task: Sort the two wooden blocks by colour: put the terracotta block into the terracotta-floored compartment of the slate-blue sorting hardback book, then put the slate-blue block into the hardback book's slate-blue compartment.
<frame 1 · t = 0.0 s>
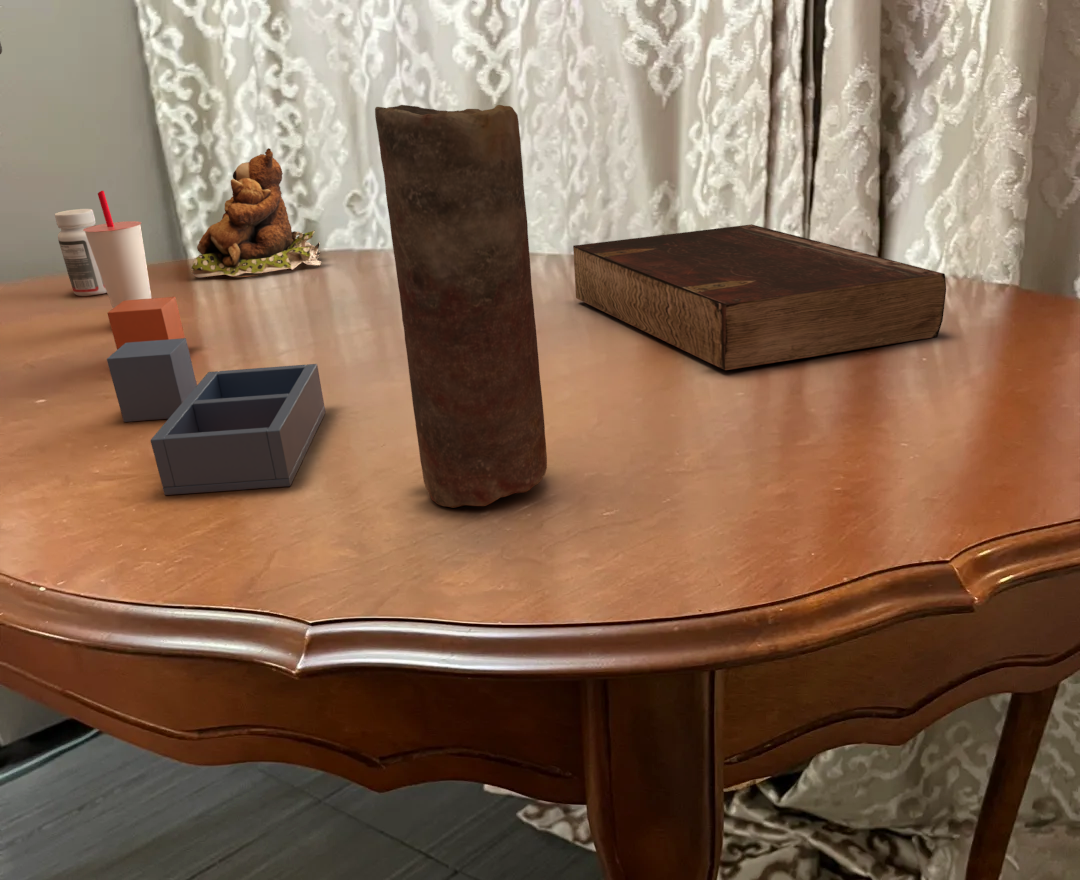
terracotta block: (155, 359, 98), on the table
blue block: (162, 410, 84), on the table
candle: (486, 490, 66), on the table
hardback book: (740, 320, 96), on the table
pill bottle: (96, 293, 126), on the table
bear figurine: (259, 268, 132), on the table
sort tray: (251, 450, 74), on the table
cup: (137, 325, 110), on the table
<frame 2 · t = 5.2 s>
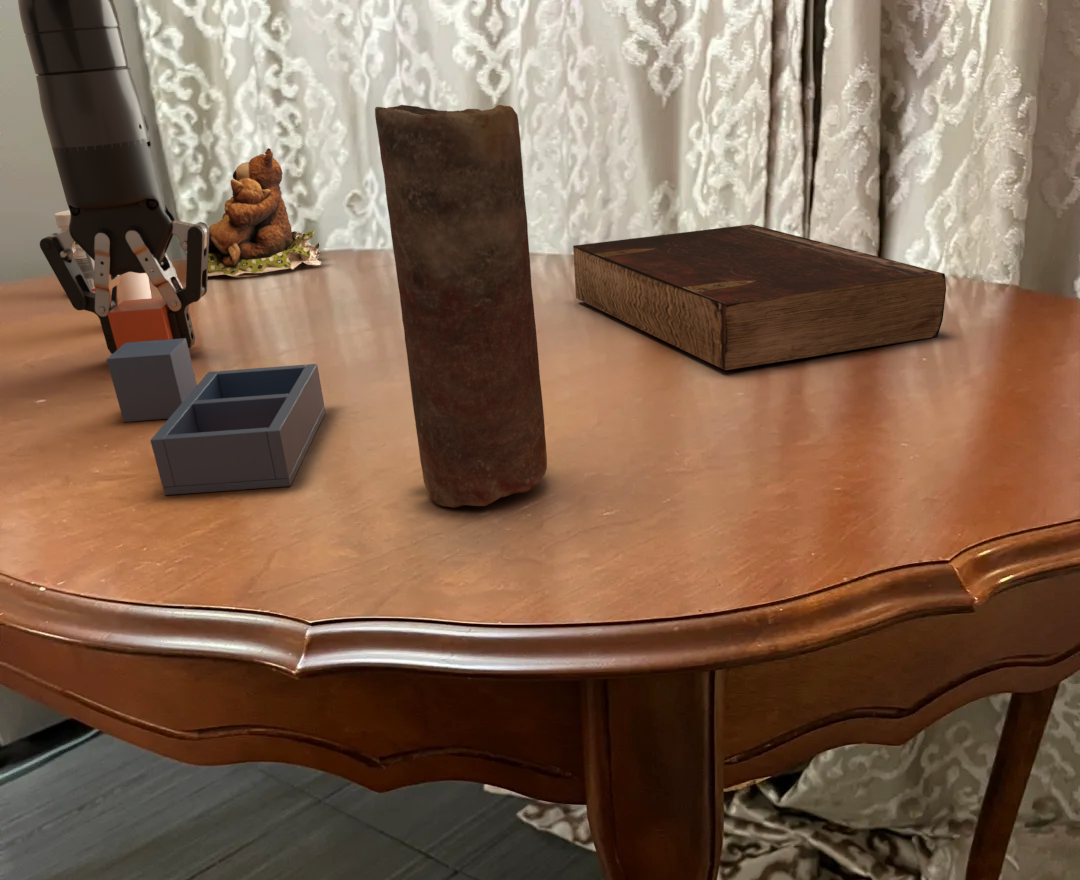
hand: (154, 354, 97), 0 cm above the table, tool pointing down, fingers closed on terracotta block, 4 cm apart
terracotta block: (155, 359, 98), on the table, touching gripper
everything else where it was.
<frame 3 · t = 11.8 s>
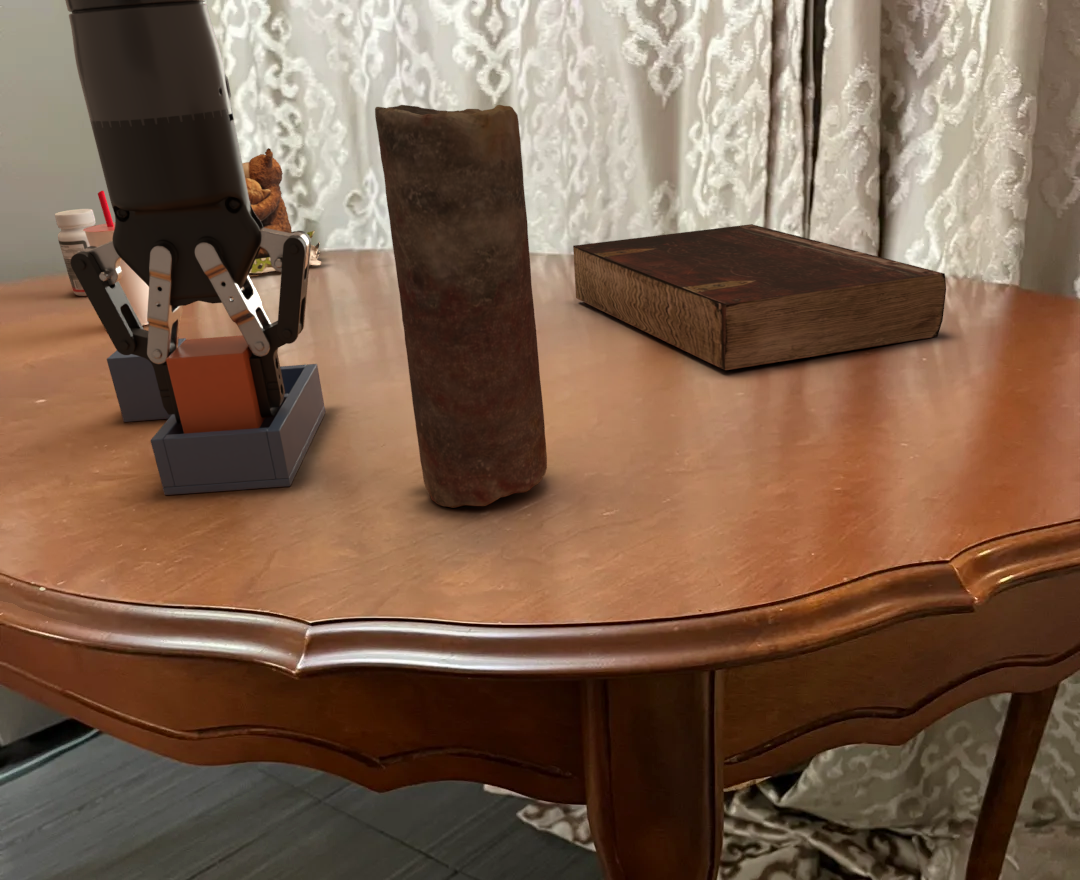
hand: (228, 415, 70), 3 cm above the table, tool pointing down, fingers closed on terracotta block, 4 cm apart
terracotta block: (229, 420, 70), point 3 cm above the table, touching gripper
everything else where it was.
when the fingers open (4 cm above the table, at t = 14.8 s): terracotta block drops 3 cm, resting on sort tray.
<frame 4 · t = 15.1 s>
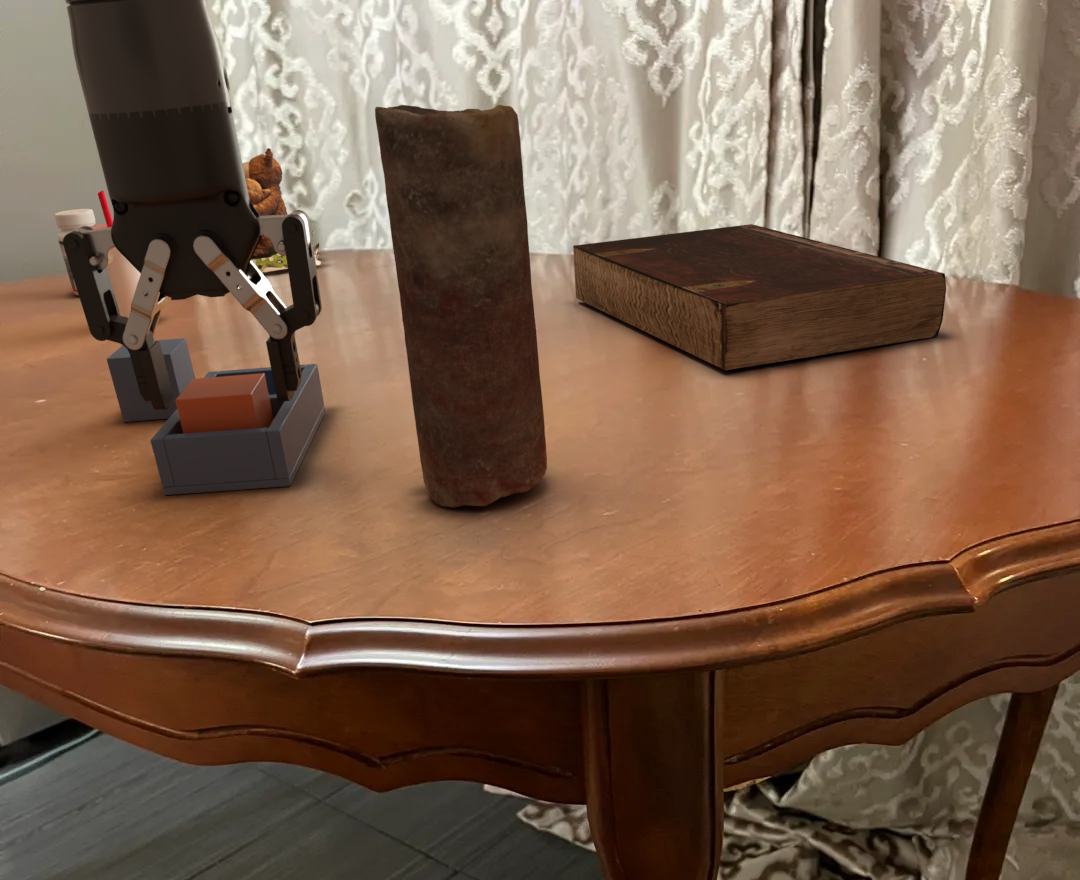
hand: (225, 401, 69), 4 cm above the table, tool pointing down, fingers open, 7 cm apart
terracotta block: (237, 458, 71), point 1 cm above the table, touching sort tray
everything else where it was.
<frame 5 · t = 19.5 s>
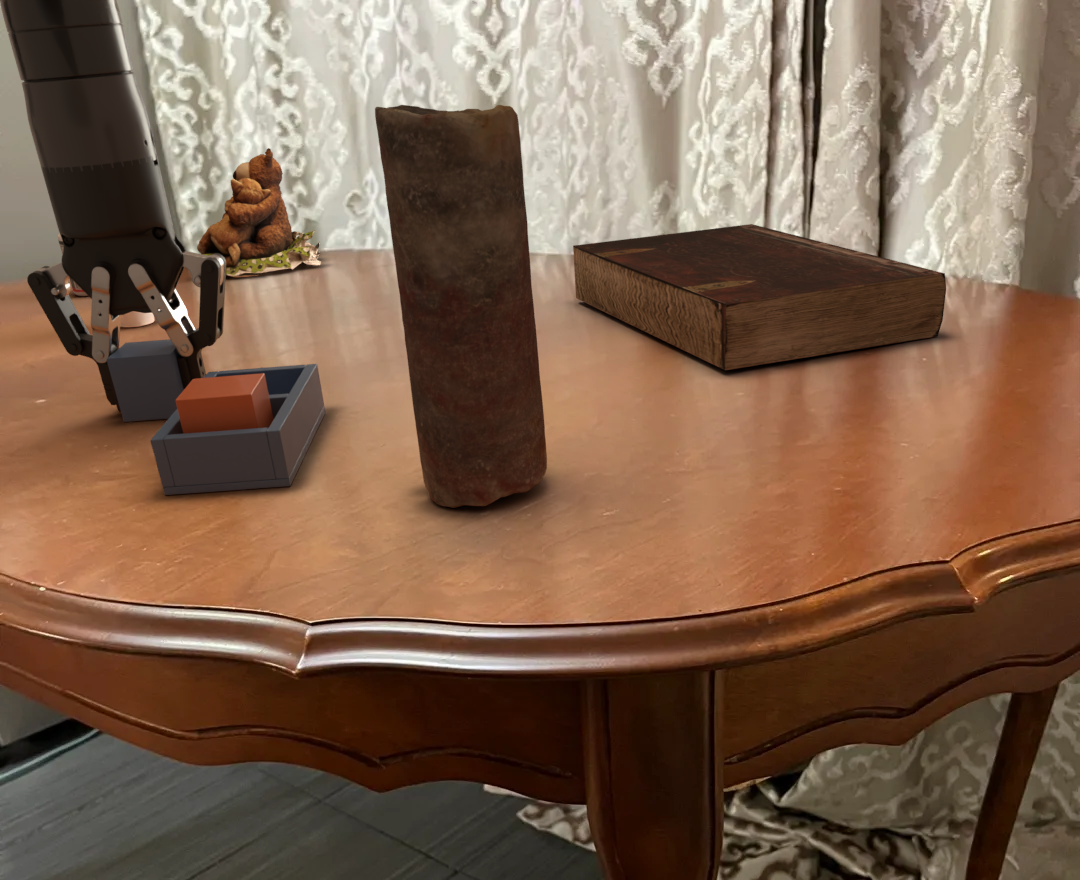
hand: (162, 405, 84), 0 cm above the table, tool pointing down, fingers closed on blue block, 4 cm apart
blue block: (162, 410, 84), on the table, touching gripper
everything else where it was.
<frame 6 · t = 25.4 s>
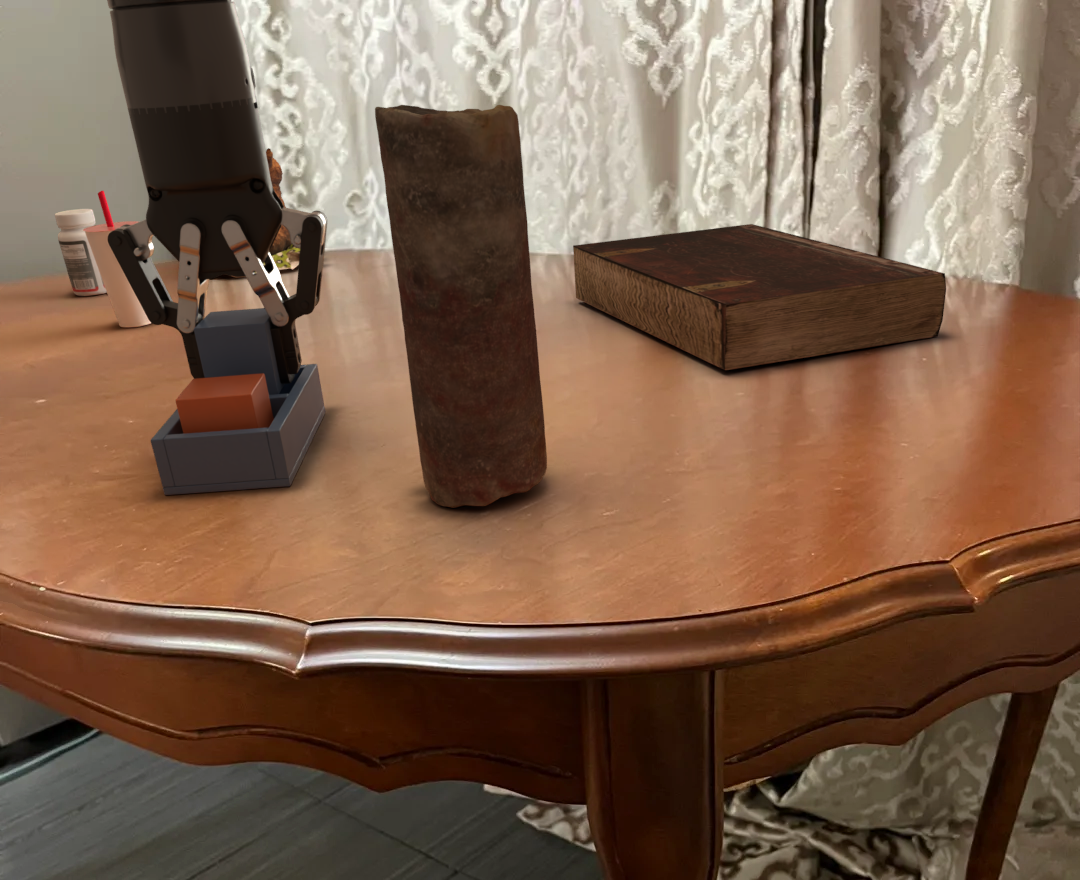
hand: (250, 382, 75), 4 cm above the table, tool pointing down, fingers closed on blue block, 4 cm apart
blue block: (251, 387, 76), point 3 cm above the table, touching gripper
everything else where it was.
when the fingers open (4 cm above the table, at t = 27.9 s): blue block drops 3 cm, resting on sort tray.
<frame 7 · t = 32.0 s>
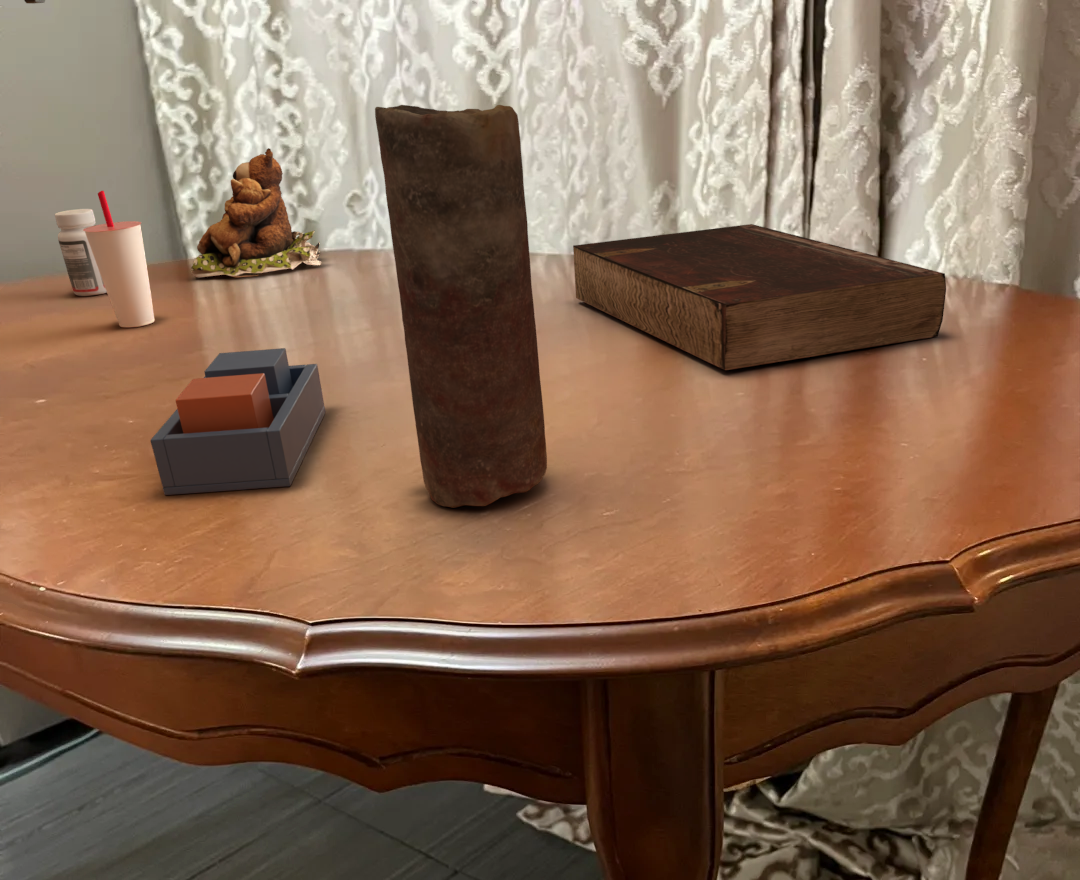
blue block: (259, 426, 77), resting on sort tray
everything else where it was.
at the end: terracotta block 0.1 cm from the target spot in the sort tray, point 0.7 cm above the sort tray's base; blue block 0.0 cm from the target spot in the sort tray, point 0.5 cm above the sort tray's base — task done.
